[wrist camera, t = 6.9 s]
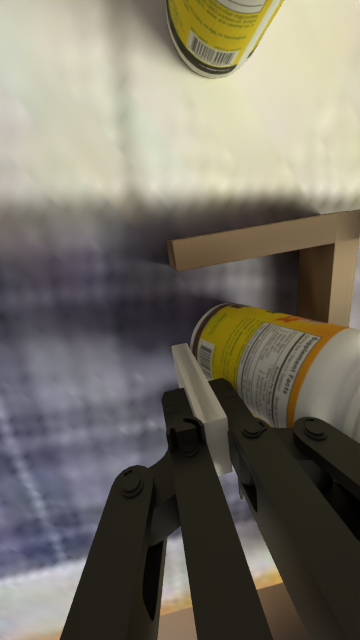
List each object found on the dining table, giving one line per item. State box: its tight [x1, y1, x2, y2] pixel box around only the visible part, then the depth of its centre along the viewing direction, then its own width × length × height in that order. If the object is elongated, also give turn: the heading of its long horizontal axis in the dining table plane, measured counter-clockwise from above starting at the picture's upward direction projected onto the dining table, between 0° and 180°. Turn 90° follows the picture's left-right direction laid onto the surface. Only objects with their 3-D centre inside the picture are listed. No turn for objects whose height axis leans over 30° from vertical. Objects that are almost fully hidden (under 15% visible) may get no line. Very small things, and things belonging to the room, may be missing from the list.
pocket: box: [166, 210, 360, 418], centre depth 15 cm, size 13×10×3 cm
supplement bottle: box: [190, 303, 360, 443], centre depth 12 cm, size 6×6×10 cm
